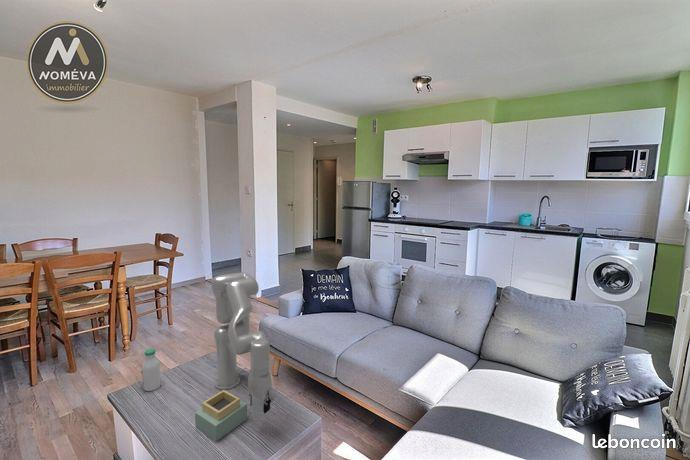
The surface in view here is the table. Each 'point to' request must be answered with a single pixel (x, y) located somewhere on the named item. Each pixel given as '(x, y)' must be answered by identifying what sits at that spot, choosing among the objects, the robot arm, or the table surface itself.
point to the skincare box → (258, 409)
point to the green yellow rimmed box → (220, 415)
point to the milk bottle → (151, 371)
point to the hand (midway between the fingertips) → (260, 407)
